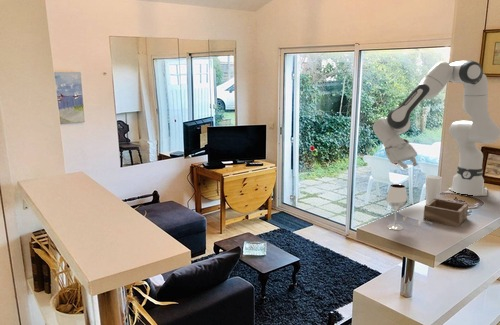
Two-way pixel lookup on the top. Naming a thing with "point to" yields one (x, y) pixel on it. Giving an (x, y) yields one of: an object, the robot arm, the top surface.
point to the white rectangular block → (433, 188)
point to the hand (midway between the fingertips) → (411, 167)
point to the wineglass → (396, 201)
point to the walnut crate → (445, 212)
